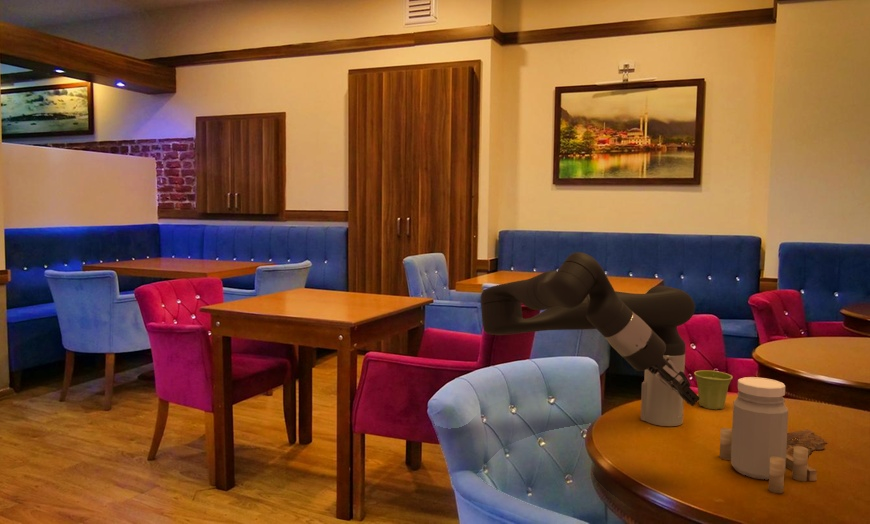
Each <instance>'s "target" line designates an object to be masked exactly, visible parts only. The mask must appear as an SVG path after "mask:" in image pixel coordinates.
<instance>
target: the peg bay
mask: <svg viewBox="0 0 870 524" xmlns="http://www.w3.org/2000/svg"><path fill="white" fill-rule="evenodd" d="M719 441H720V442H719V458H720V459H722V460H726V461H731V446H732V428H729V427H721V428H720V438H719ZM808 461H809V457H808V449H807V448H805V447H801V446H795V447H794V455H793V457H791V456H790V455H788V454H786V467H787V468H785V459H783V458H781V457H775V456H773V457H770V470H769V480H768V491H770V492H771V493H773V494H783V493H784V487H785V485H784V484H785V473H784V468H785V469H788V468H789V469H788V470H790V469H791V470H790V471H791V472H792V476H791V477H792V479H793V480H795V481H798V482H807V481H808V482H816V481H817V475H818V471H817V470H816V469H815V468H813V467H811V466H809V465H808Z"/></svg>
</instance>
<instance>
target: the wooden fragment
mask: <svg viewBox="0 0 870 524" xmlns="http://www.w3.org/2000/svg"><path fill="white" fill-rule="evenodd" d="M804 430H805V431H802V430H797V431H791V432H787V448H786V454H788V455H790V456H791V457H793V455H794V447H795V446H801V447H805V448H807V449H808V458H809V457H810V455H812V454H813V452H814V451H821V450H824V449H825V448H826V446H825V444H828V441H825V439H823V437H821V436H819V435H817V434H815V432H814V431H812V430H811V429H804ZM795 438H796V439H795ZM792 439H793V440H792ZM797 439H798V440H797Z"/></svg>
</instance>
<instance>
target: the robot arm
mask: <svg viewBox="0 0 870 524" xmlns="http://www.w3.org/2000/svg"><path fill="white" fill-rule="evenodd" d="M480 294H481V295H480V308H481V309H480V310H481V321H482V328H483V331H484V332H485V333H486V334H487V335H492V336H493V335H494V336H504V335H505V336H507V335H515V334H516V335H517V334H524V333H525V334H527V333H532V332H533V333H534V332H543V331H545V332H546V331H564V330H565V331H566V330H567V331H568V330H569V331H571V330H572V331H573V330H577V331H578V330H582V331H583V330H584V331H585V330H597V331H598V332H599V333H600V334H601V335H602V336H603V337H604V338H605V340H606V341H608V343H609V344H610V346H611V347H612V348H613V349H614V350H615V351H616V352H617V353H618V354H619V355H620V356H621V357H622V358H623V359H624V360H625V361H626V362H627V363H628V364H629V365H630V366H631V367H632V368H633V370H635V371H639V372H640V371H641V372H642V371H644V380H643V382H641V396H640V397H641V403H640V421H644V422H647V423H649V424H651V425H655V426H661V427H677V426H681V425H682V424H683V421H684V401H685V402H686V404H688V405H690V406H695V405H696V404H697V402H698V403H699V396H698V394H697V393H696V392H695V391H694V390H693V389H692V388H691V386H692V384H691V382H690V381H689V379H688V377H687V375H686V374H685V370H686V368H685V366H686V364H685V363H686V342H685V340H684V339H683V338H682V337H681V336H680V334H679V331H678V327H679V326H682V325H684V324H686V323H687V322H689V321H690V320H691V318H693V316H694V314H695V310H696V306H695V305H696V304H695V301H694V300H693V298H692V297H691V295H690V294H688V293H687V292H686V291H684V290H682V289H680V288H676V287H670V286H667V285H666V286H665V285H656V286H653V287H651V288H650V289H649V290H647V292H646V293H632V292H631V293H630V292H623V291H617V290H615V289H614V287H613V285H612V284H611V281H610V280H609V278H608V276H607V274H606V272H605V271H604V268H603V267H602V266H601V265H600V263H599V262H598V261H597V260H596V259H595V258H594V257H593V256H592V255H589V254H587V253H585V252H581V251H580V252H579V251H578V252H577V251H576V252H573V253H571V254H569V256H567V257H566V259H565V260H564V262H562V264H561V266H560V267H559V268H558V269H557V270H548V271H545V272H542V273H540V274H537V275H535V276H533V277H531V278H527V279H522V280H516V281H510V282H506V283H502V284H496V285H493V286H490V287H488V288H485V289H484V290H483V291H482V292H481V293H480ZM522 305H523V306H525V307H526V308H528V309H530V310H532V311H542V312H540V313H538V314H536V315H533V316H532V317H528V318H523V309H522Z"/></svg>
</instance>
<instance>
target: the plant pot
mask: <svg viewBox="0 0 870 524" xmlns="http://www.w3.org/2000/svg"><path fill="white" fill-rule="evenodd" d="M693 373H694V376H695V380H696V382H697V383H696V384H697V392H698V394H697V395H698V396H699V400H698V403H699V406H700V407H703V408H705V409H706V410H713V409H716V410H719V409H720V410H723V409H725V405H726V399H727V394H728V389H729V386H730V384H731V381H732V380H733V375H732V374H729V373H726V372H722V371H718V370H717V371H716V370H707V369H706V370H702V369H701V370H697V371H694V372H693Z"/></svg>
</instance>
